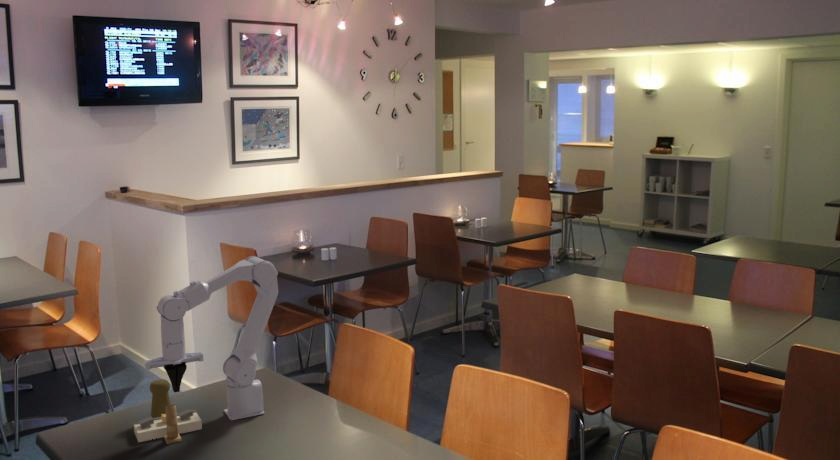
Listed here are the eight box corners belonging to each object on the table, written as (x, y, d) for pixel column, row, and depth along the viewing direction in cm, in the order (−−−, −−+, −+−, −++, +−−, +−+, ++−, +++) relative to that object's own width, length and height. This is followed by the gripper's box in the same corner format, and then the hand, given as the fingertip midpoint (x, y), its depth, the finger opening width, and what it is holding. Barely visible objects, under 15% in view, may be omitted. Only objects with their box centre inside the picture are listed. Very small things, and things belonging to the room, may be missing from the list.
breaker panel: (196, 419, 201) (195, 409, 201) (201, 429, 195) (201, 418, 195) (134, 432, 194) (133, 422, 193) (138, 442, 188) (137, 431, 187)
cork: (166, 424, 199) (163, 385, 197) (146, 422, 200) (143, 384, 198) (177, 415, 205) (175, 377, 203) (158, 413, 206) (155, 376, 204)
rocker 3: (191, 412, 198) (190, 408, 198) (193, 415, 196) (192, 411, 196) (179, 417, 197) (178, 413, 196) (181, 420, 195) (180, 416, 194)
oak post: (178, 435, 191) (176, 402, 190) (181, 441, 188) (179, 407, 187) (164, 438, 190) (162, 405, 188) (167, 444, 186) (164, 410, 185)
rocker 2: (173, 418, 196) (173, 414, 196) (175, 421, 194) (175, 417, 194) (160, 418, 194) (161, 414, 194) (162, 421, 192) (163, 417, 192)
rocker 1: (152, 420, 193) (151, 416, 193) (154, 423, 191) (152, 419, 191) (140, 424, 192) (138, 420, 192) (141, 428, 190) (140, 424, 190)
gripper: (146, 349, 185) (149, 401, 187) (204, 341, 192) (207, 390, 194) (142, 342, 191) (145, 392, 193) (198, 334, 198) (201, 382, 200)
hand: (176, 390), depth 194 cm, fingers closed
